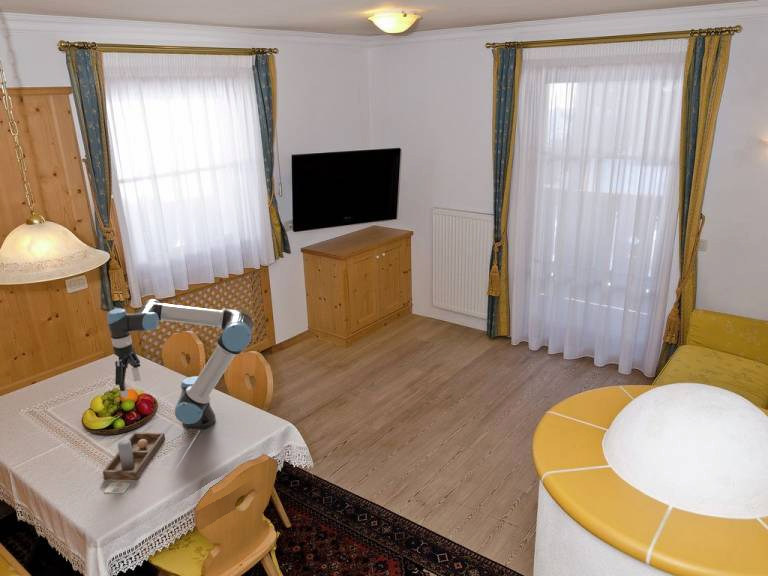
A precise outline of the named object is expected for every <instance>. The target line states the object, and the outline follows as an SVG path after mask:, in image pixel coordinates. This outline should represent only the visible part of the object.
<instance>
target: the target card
mask: <svg viewBox="0 0 768 576" xmlns="http://www.w3.org/2000/svg"><path fill="white" fill-rule="evenodd" d="M130 485H131V483H130V482H113V481H112V482H110V484H109V485H108V486H107V487H106V489H105V490H104V492H103V493H104V494H123V495H124V493H125V492H126V490H127V489H128V488H129V487H130Z"/></svg>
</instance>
